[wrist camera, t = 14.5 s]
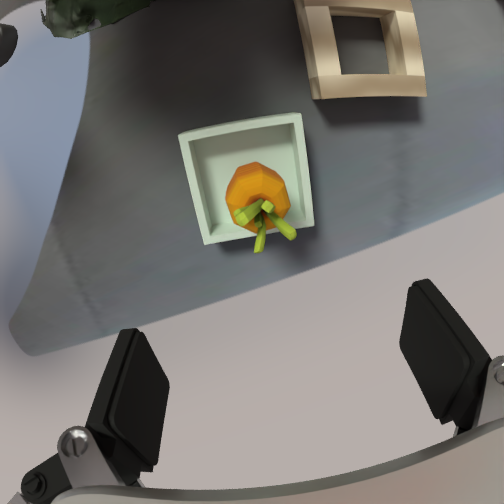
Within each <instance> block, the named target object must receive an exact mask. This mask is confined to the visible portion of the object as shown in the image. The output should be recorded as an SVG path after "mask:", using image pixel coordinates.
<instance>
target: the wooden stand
mask: <svg viewBox="0 0 504 504" xmlns="http://www.w3.org/2000/svg"><path fill="white" fill-rule="evenodd" d="M294 5H295V9H296V14H297V18H298V23H299V28H300V33H301V38H302V43H303V49H304V54H305V60H306V65H307V71H308V77H309V83H310V89H311V96H312V99H329V98H343V97H365V96H423V97H427V93H426V84H425V75H424V68H423V61H422V54H421V48H420V43H419V37H418V32H417V27H416V22H415V18H414V13H413V9H412V5H411V1H410V0H294ZM331 16H359V17H375V18H380V22H381V27H382V32H383V37H384V43H385V48H386V54H387V60H388V67H389V74H349V75H341V69H340V63H339V57H338V52H337V46H336V41H335V36H334V31H333V26H332V21H331Z"/></svg>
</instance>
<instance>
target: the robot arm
mask: <svg viewBox="0 0 504 504" xmlns="http://www.w3.org/2000/svg"><path fill="white" fill-rule="evenodd" d="M399 343H400V349H401V351H402V353H403V355H404V357H405V359H406V361H407V363H408V365H409V366H410V368H411V370H412V372H413V374H414V376H415V378H416V380H417V382H418V384H419V386H420V388H421V391H422V392H423V395H424V397H425V399H426V401H427V403H428V405H429V407H430V409H431V411H432V414H433V416H434V417H435V418H436V419H439V420H440V422H441V424H442V425H443V424H445V423H448V422H450V421H452V420H453V421H454V423H455V425H456V428H455V432H454V435H453V438H450V439H448V440H446V441H444V442H441V443H438V444H436V445H433V446H431V447H428V448H426V449H423V450H420V451H418V452H415V453H412V454H409V455H406V456H404V457H401V458H398V459H395V460H392V461H388V462H385V463H382V464H378V465H375V466H372V467H368V468H365V469H361V470H357V471H353V472H349V473H345V474H340V475H335V476H331V477H326V478H321V479H316V480H310V481H304V482H298V483H291V484H284V485H276V486H267V487H257V488H244V489H226V490H180V489H157V488H156V489H155V488H146V487H145V486H144V484H143V483H142V482H141V480H140V479H139V478H140V472H153V466H154V465H156V464H157V463H158V458H159V451H160V444H161V437H162V431H163V424H164V418H165V412H166V406H167V400H168V394H169V388H170V387H169V381H168V378H167V376H166V375H165V373H164V371H163V370H162V367H161V365H160V364H159V362H158V360H157V358H156V356H155V354H154V352H153V350H152V348H151V346H150V344H149V342H148V341H147V338H146V336H145V335H144V333H143V332H140V331H139V330H138V329H137V328H132V329H122V330H121V331H120V333H119V335H118V338H117V340H116V343H115V345H114V348H113V350H112V353H111V355H110V358H109V361H108V363H107V366H106V369H105V371H104V373H103V376H102V379H101V382H100V384H99V387H98V390H97V393H96V396H95V398H94V401H93V404H92V407H91V410H90V413H89V416H88V419H87V422H86V425H85V427H81V426H74V427H71V428H68V429H67V430H66V431H65V432H63V434H62V435H61V436H60V438H59V440H58V445H57V449H58V453H57V454H55V455H54V456H52V457H51V458H49V459H47V460H46V461H44V462H43V463H41V464H40V465H38V466H37V467H35V468H33V469H32V470H30V471H29V472H28V473H26V474H25V476H24V477H23V479H22V483H21V491H22V493H21V494H20V493H19V492H17V493H16V494H15V495H14V497H13V498H12V499H11V500H10V501H9V503H8V504H504V356H498V357H496V358H494V359H493V360H492V359H491V358H490V356H489V354H488V353H487V352H486V350H485V349H484V347H483V346H482V345H481V343H480V342H479V341H478V339H477V338H476V337H475V335H474V334H473V332H472V331H471V330H470V328H469V327H468V326H467V325H466V323H465V322H464V321H463V320H462V318H461V317H460V316H459V314H458V313H457V312H456V311H455V309H454V308H453V307H452V306H451V304H450V303H449V302H448V301H447V300H446V298H445V297H444V296H443V295H442V293H441V292H440V291H439V290H438V289H437V287H436V286H435V285H434V284H433V283H432V282H431V280H429V279H423V280H419V281H415V282H414V283H413V284H412V286H411V287H409V289H408V294H407V301H406V307H405V314H404V319H403V325H402V330H401V336H400V341H399Z"/></svg>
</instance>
